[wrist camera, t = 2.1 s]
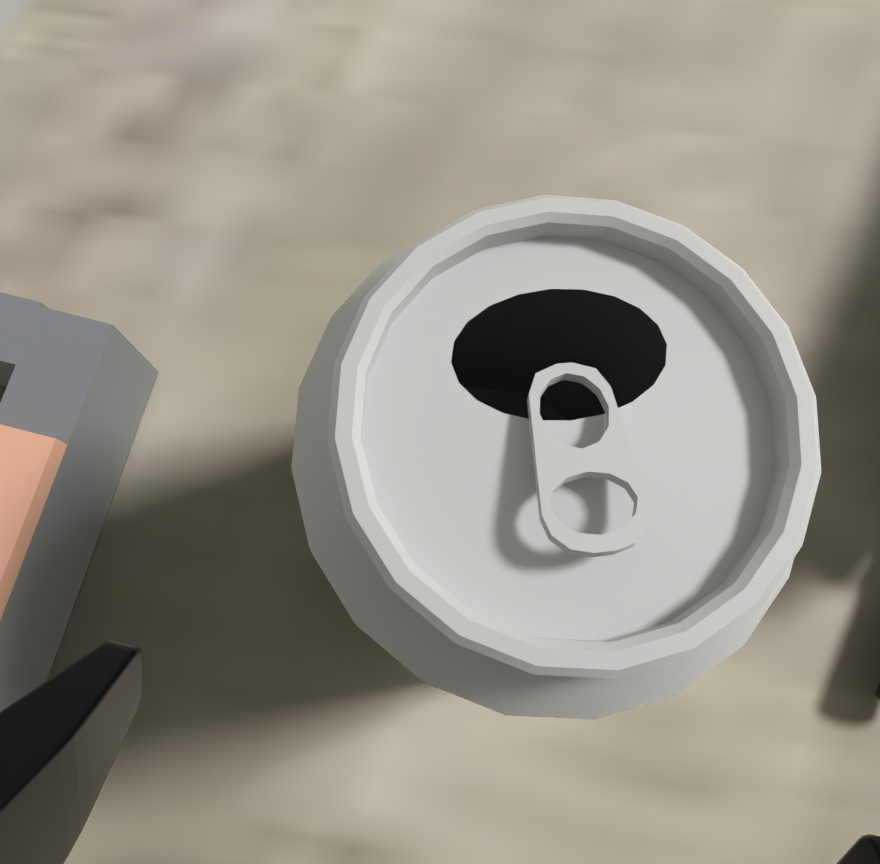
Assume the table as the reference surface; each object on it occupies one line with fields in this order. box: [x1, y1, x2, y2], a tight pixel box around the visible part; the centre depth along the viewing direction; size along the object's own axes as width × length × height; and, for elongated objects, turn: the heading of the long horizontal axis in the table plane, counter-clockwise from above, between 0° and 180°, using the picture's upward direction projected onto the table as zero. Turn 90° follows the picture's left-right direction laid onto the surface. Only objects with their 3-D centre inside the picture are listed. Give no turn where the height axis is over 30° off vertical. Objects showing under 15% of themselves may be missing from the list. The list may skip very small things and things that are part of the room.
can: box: [291, 195, 821, 719], centre depth 15 cm, size 8×8×12 cm
